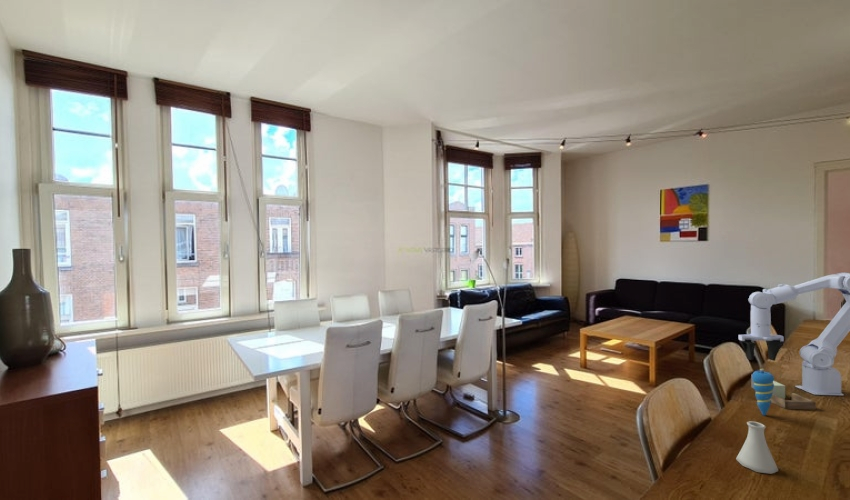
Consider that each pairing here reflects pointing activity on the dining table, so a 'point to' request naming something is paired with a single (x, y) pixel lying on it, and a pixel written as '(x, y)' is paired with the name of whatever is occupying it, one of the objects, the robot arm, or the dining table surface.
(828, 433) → the dining table surface
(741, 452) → the flask
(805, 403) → the frame
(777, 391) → the sage block
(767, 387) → the ornament
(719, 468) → the dining table surface
